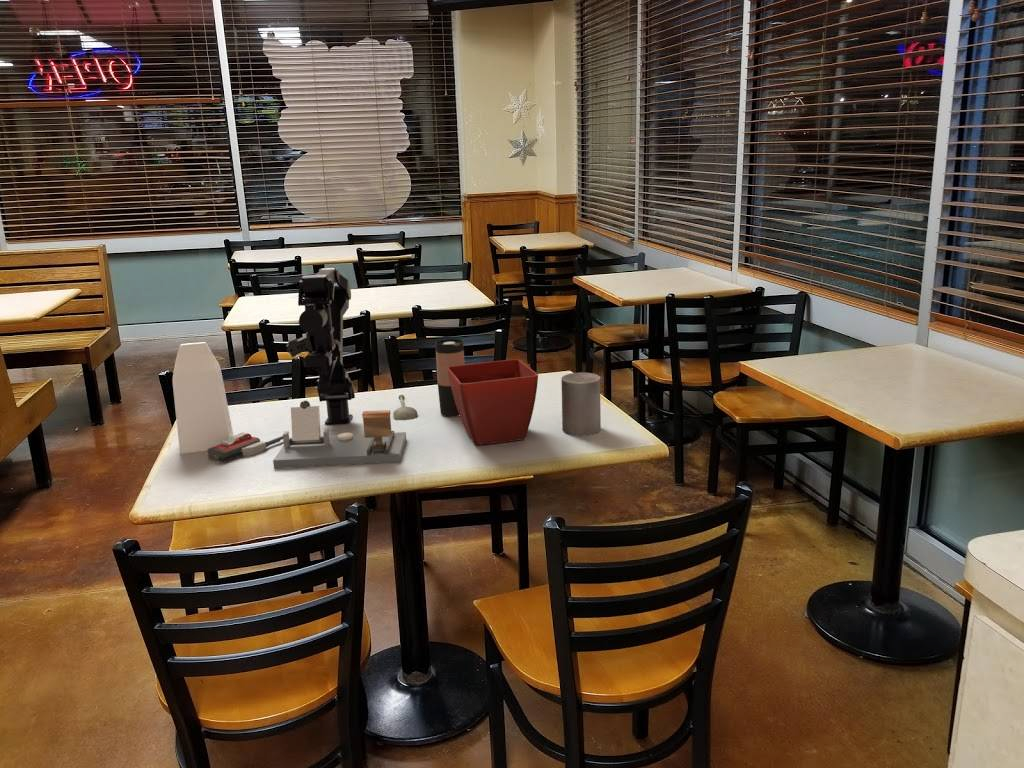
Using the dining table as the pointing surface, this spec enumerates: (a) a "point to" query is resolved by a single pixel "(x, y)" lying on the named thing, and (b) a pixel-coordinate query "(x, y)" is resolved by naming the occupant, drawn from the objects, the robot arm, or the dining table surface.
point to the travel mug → (447, 355)
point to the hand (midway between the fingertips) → (326, 386)
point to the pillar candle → (581, 404)
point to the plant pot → (494, 399)
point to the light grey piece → (305, 425)
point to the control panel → (340, 451)
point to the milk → (199, 399)
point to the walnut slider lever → (377, 427)
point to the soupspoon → (404, 411)
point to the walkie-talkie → (239, 447)
